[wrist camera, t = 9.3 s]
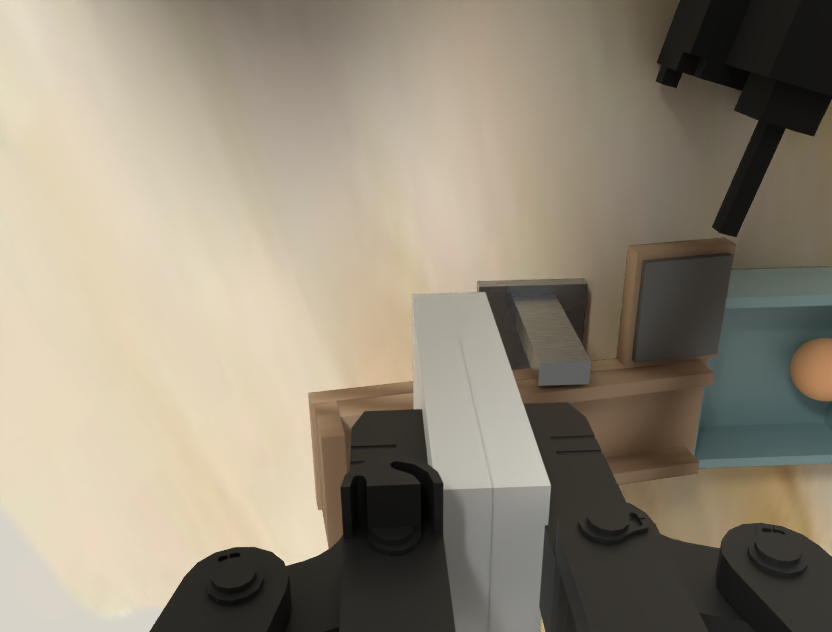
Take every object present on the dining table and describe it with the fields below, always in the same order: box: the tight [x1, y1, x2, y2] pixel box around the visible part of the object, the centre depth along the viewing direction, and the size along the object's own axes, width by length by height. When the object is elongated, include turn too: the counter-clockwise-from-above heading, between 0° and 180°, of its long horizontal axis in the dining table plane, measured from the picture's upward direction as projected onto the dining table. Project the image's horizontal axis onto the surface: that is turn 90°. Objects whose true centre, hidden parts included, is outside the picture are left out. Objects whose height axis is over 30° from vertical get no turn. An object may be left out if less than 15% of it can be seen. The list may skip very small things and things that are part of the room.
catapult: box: [308, 238, 736, 549], centre depth 37 cm, size 20×12×4 cm, turn 92°
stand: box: [477, 279, 591, 386], centre depth 43 cm, size 6×10×9 cm, turn 1°
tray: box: [693, 267, 832, 468], centre depth 45 cm, size 11×11×6 cm
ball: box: [790, 338, 832, 401], centre depth 45 cm, size 4×4×4 cm
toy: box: [656, 0, 832, 237], centre depth 36 cm, size 8×14×10 cm, turn 165°
